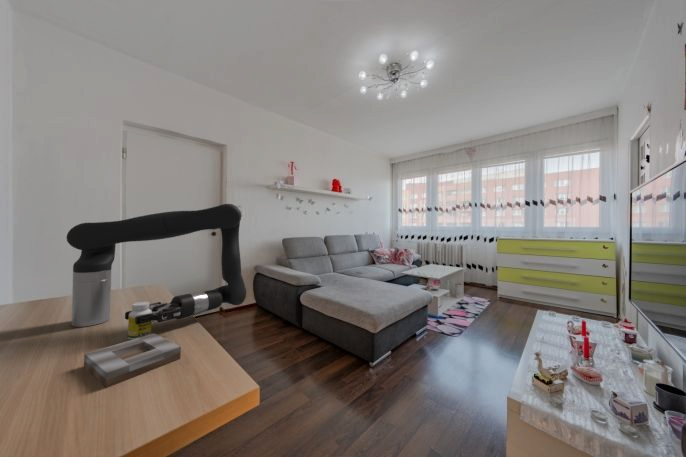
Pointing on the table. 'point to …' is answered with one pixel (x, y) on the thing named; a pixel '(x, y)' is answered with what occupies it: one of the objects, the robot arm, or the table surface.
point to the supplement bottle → (141, 329)
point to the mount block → (130, 358)
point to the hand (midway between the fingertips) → (130, 318)
